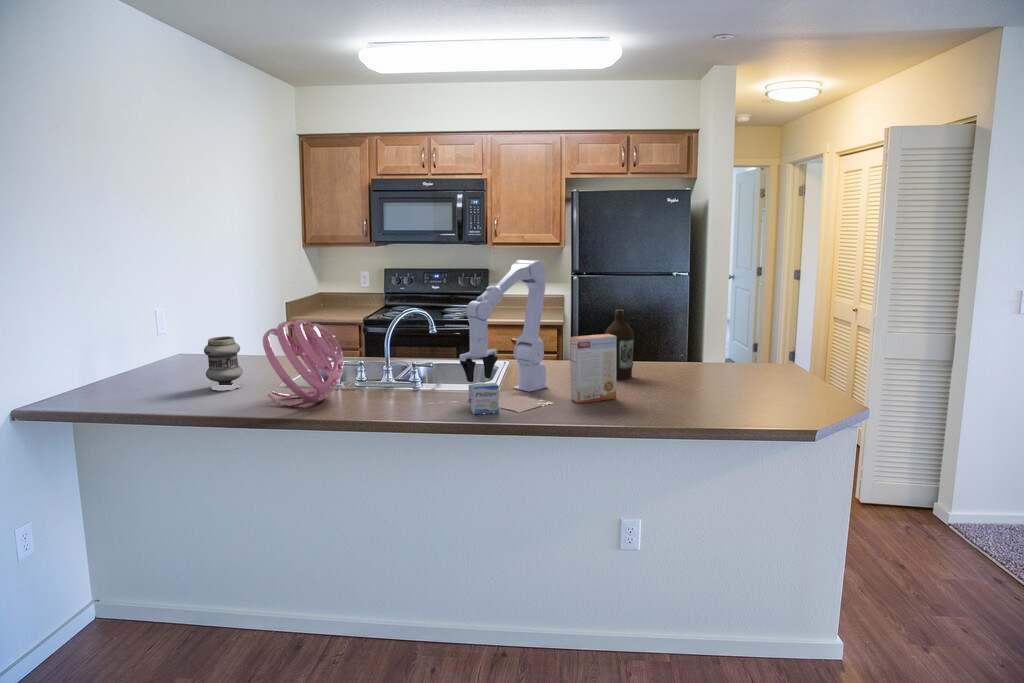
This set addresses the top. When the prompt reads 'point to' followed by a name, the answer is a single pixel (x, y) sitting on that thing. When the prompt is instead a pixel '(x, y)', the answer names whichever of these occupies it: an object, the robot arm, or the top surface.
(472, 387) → the medicine box
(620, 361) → the olive oil
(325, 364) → the spiral basket
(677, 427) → the top surface
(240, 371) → the apothecary jar
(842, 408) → the top surface
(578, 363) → the cracker box
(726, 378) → the top surface
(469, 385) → the blue cube
